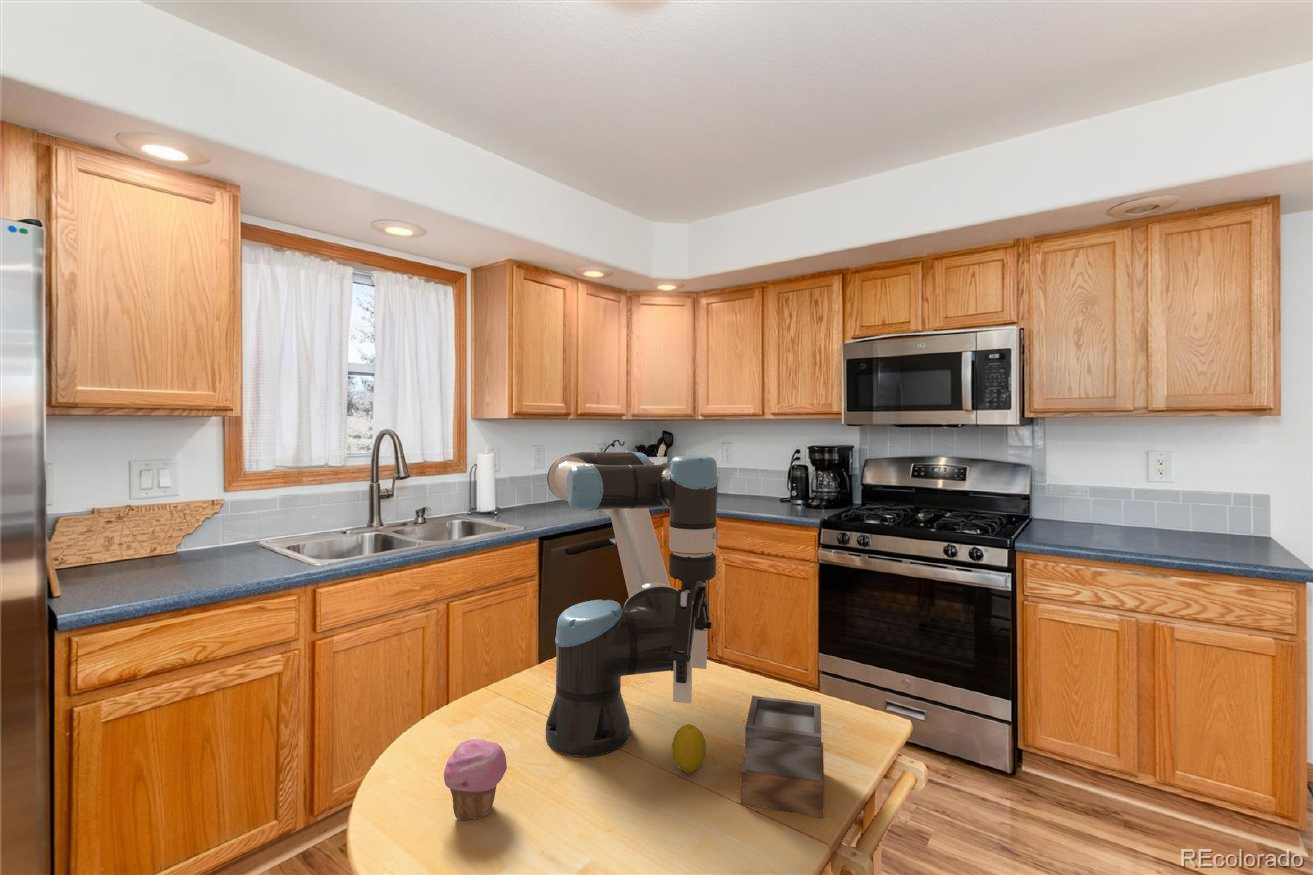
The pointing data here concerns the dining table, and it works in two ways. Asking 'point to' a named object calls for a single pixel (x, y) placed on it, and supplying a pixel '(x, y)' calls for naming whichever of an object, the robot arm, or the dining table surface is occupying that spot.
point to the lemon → (689, 748)
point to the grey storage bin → (783, 757)
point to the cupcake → (474, 777)
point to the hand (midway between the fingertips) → (690, 683)
